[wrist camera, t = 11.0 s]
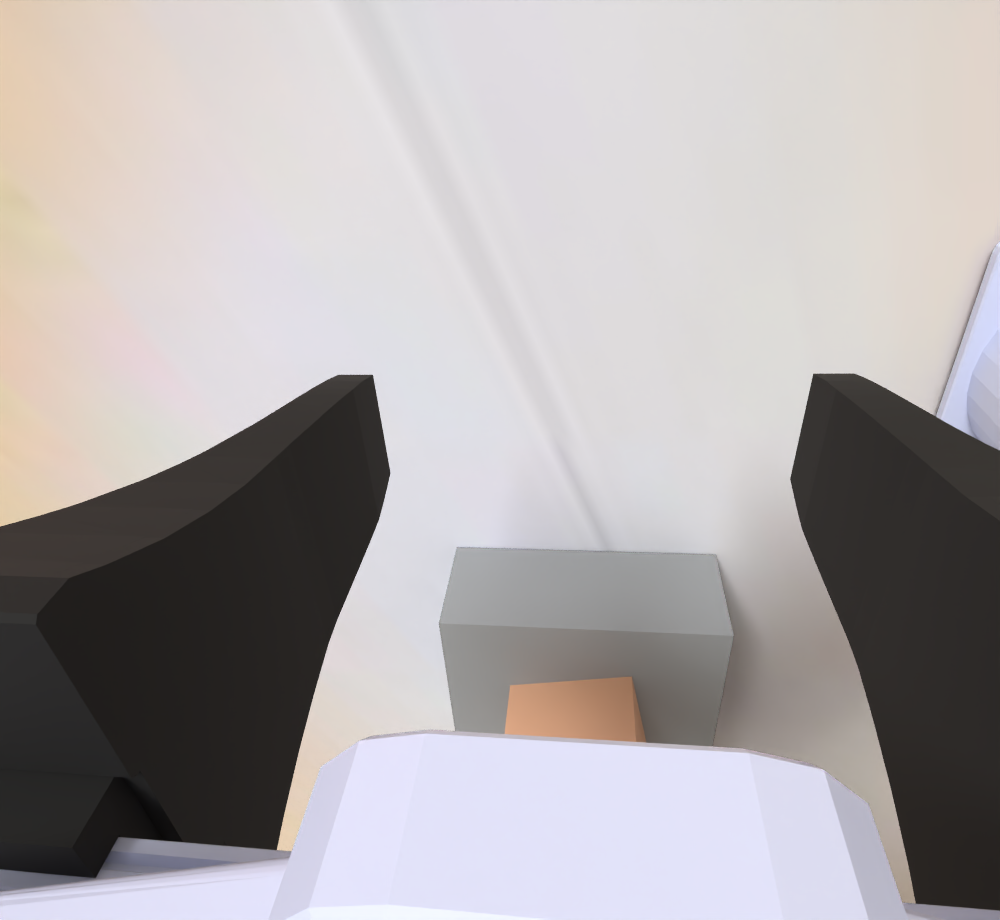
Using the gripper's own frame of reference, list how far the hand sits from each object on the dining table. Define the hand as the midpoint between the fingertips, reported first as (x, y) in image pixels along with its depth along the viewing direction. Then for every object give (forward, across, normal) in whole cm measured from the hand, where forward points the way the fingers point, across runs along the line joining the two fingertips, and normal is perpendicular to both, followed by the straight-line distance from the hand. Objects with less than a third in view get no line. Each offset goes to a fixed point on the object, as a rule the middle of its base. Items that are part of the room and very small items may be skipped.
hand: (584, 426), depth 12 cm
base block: (+10, 0, +17) cm, 20 cm away
